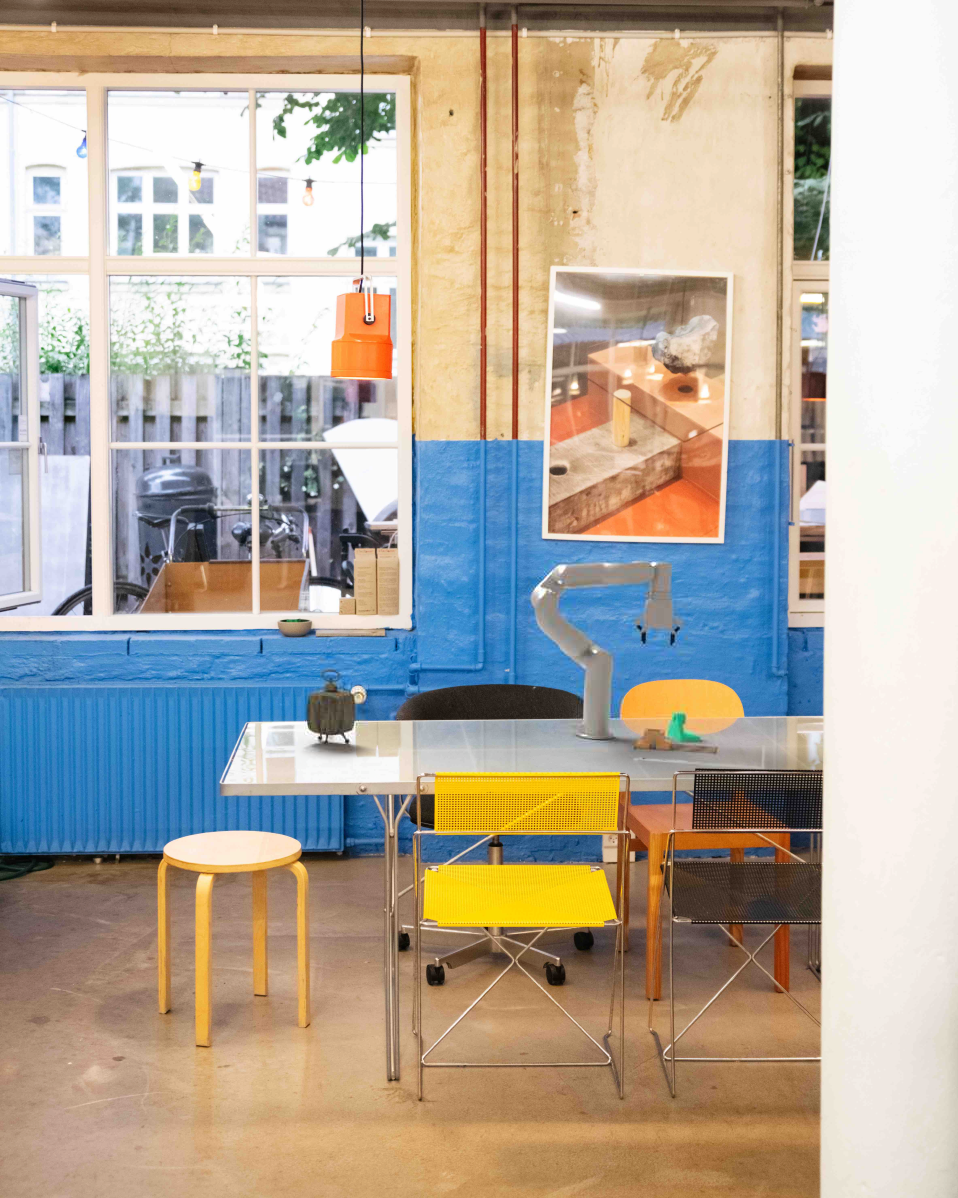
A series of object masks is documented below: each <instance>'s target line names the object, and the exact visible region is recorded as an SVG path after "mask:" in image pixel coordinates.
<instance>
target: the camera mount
mask: <svg viewBox="0 0 958 1198" xmlns="http://www.w3.org/2000/svg"><path fill="white" fill-rule="evenodd" d="M686 722H687V716H686V714H685V712H681V711H680V712H678V711H677V712H673V714H672V717H671V719H670V722H669V725H668V729H667V736H668V737H671V738H673V739H675V740H676V741H678V742H679V741H680V742H701V736H700V735H698V734H695V733H693V732H691V731H689V730H685V729H684V726H685V725H686Z"/></svg>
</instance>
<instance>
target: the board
mask: <svg viewBox="0 0 958 1198" xmlns="http://www.w3.org/2000/svg"><path fill="white" fill-rule="evenodd" d="M633 749H634V750H636V749H637V748H636V745H635V746H634V748H633ZM641 749H644V750H657V751H658V750H659V751H664V750H663V749H656V748H655V741H651V748H641ZM718 749H719V747H718V746H708V745H707V746H706V745H695V744H693V745H692V744H680V743H679V744H678V743H671V746H670V749H669V750H668V751H669V752H670V751H673V752H685V753H686V752H688V753H697V754H699V753H700V754H701V753H702V754H715V755H717V754H718Z"/></svg>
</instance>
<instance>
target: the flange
mask: <svg viewBox="0 0 958 1198" xmlns="http://www.w3.org/2000/svg"><path fill="white" fill-rule="evenodd" d="M665 731H666V730H665V729H663V728H662V729H661V728H658V729H657V728H647V727H646V728H644V731H643V737H642V738H641V737H640V738H638V740H637V742H636V743H635V746H636V749H642V748H651V741H655V748H656V749H663V750H662V751H670V750H669V749H670V746H671V744H672V740H671V739H670V740H669V739H668V740H667V739H665V736H666V734H665V733H666V732H665ZM656 749H655V750H656Z"/></svg>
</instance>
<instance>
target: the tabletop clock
mask: <svg viewBox="0 0 958 1198" xmlns="http://www.w3.org/2000/svg"><path fill="white" fill-rule="evenodd" d="M326 672H332V673H335V674H337V675H338V678H337V679H333V678H332V677H329V679H327V678H326V677H324V674H325V673H326ZM321 677H322V679H323V680H324V681H325V682H327V683H325V684H324V686H323V688H322V690H317V691H314V692H310V693H309V695H308V698H307V704H306V725H307V728H308V730H309V731H311V732H312V733H314V734H319V736H317V740H318V741H322V740H323V735H324V736H325V740H323V744H324V745H329V740H328V739H329V736H338V735H340V736H341V737H342V738H343V739H344V744H346V745H349V744H350V739H349V738H347V737H346V735H345V733H349V732H351V731H353V730H354V728H355V721H356V702H355V701H356V699H355V696H354V694H353V693H352V692H351V691H349V690H345V689H344V690H343V689H339V686H338V684H336V683H337V682H338V681H340V678H341V675H340V673H339V671H337V670H335V669H330V668H329V669H325V670H324V671H323V672H322V673H321Z"/></svg>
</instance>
